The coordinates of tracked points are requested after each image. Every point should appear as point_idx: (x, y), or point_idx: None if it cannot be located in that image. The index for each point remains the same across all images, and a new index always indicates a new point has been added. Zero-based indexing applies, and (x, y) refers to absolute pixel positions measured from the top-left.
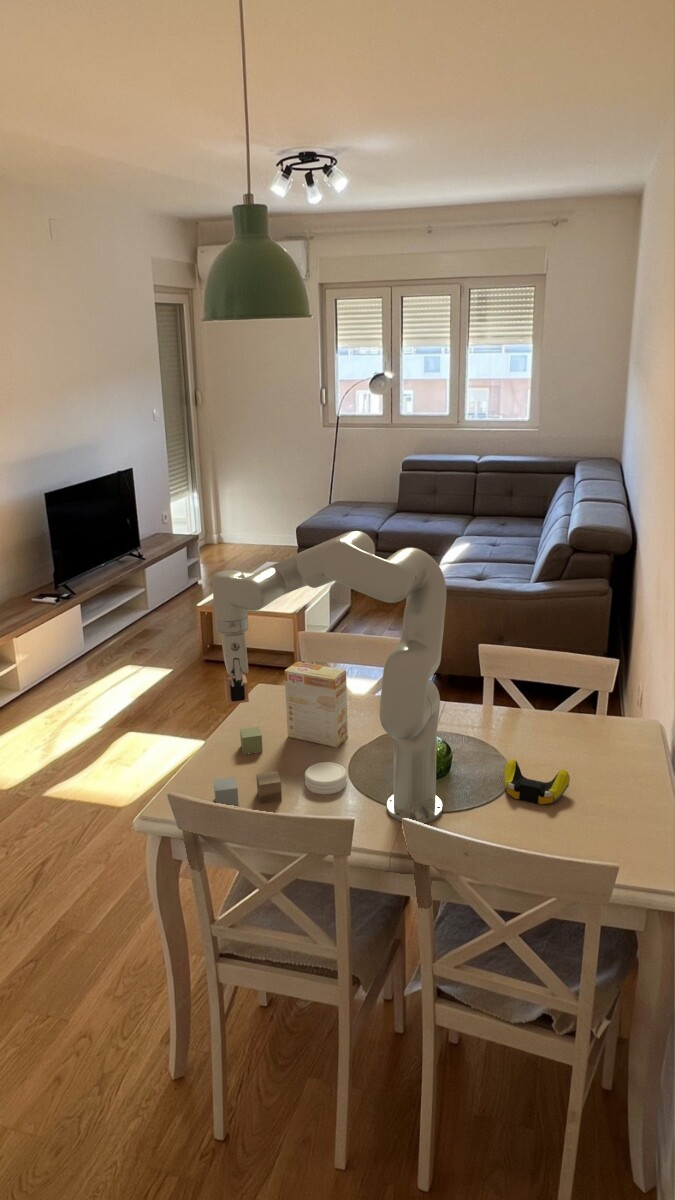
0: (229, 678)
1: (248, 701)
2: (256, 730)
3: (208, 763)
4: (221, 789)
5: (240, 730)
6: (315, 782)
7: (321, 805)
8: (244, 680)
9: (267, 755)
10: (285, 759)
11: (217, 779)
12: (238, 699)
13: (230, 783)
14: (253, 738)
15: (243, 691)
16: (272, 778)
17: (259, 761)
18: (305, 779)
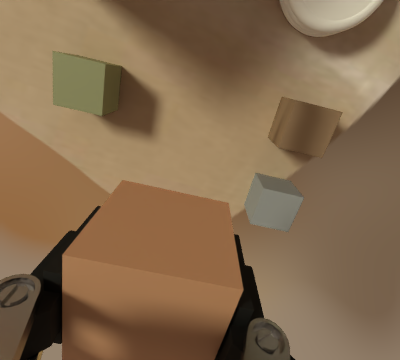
0: (104, 351)
1: (227, 204)
2: (72, 66)
3: (125, 179)
4: (289, 221)
5: (60, 105)
6: (363, 20)
7: (393, 37)
8: (192, 294)
9: (139, 61)
10: (174, 27)
11: (252, 217)
12: None
13: (280, 203)
14: (106, 87)
15: (244, 273)
16: (317, 123)
17: (157, 88)
18: (313, 31)
